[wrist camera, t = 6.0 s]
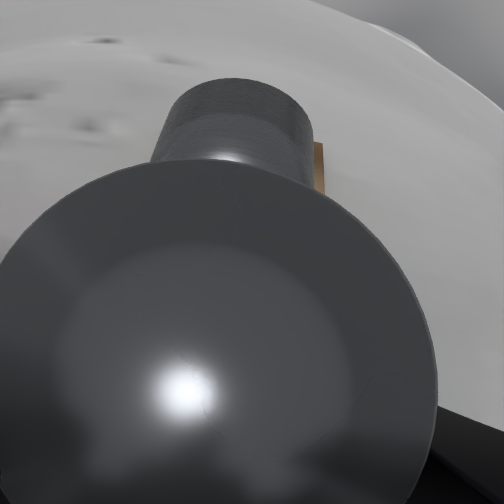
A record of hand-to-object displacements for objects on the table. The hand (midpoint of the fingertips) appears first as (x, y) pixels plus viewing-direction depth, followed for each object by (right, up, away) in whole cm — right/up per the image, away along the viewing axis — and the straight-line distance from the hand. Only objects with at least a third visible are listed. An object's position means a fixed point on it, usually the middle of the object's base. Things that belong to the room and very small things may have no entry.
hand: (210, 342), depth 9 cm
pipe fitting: (-1, -3, +6) cm, 7 cm away
